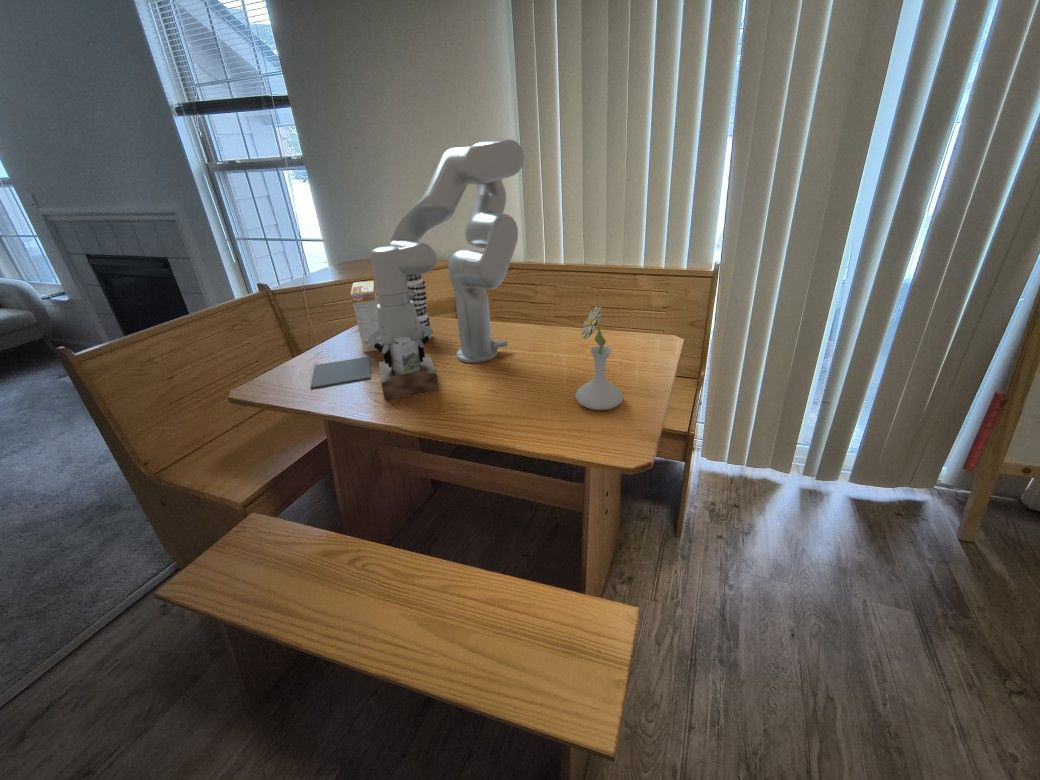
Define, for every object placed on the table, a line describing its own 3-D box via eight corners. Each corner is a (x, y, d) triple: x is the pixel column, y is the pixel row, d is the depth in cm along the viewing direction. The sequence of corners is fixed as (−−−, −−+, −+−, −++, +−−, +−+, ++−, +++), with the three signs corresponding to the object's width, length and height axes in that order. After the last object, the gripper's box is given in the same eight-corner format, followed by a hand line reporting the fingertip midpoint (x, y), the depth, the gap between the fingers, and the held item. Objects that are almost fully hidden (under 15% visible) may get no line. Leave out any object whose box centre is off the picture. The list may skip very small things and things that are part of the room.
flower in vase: (581, 389, 116) (583, 293, 104) (626, 395, 112) (633, 296, 101) (567, 413, 105) (568, 310, 94) (616, 421, 101) (623, 314, 90)
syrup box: (411, 377, 127) (402, 329, 120) (424, 382, 124) (416, 333, 117) (394, 385, 123) (384, 335, 116) (408, 390, 120) (398, 340, 113)
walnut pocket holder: (431, 369, 131) (429, 354, 129) (439, 390, 119) (436, 373, 117) (382, 378, 127) (378, 362, 125) (384, 400, 116) (381, 382, 113)
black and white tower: (434, 341, 152) (423, 266, 140) (406, 344, 150) (392, 269, 139) (432, 332, 160) (421, 260, 148) (405, 335, 158) (393, 263, 146)
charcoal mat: (369, 358, 141) (369, 356, 141) (371, 378, 128) (370, 376, 127) (315, 366, 137) (314, 365, 137) (310, 389, 123) (310, 387, 123)
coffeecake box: (364, 337, 158) (352, 282, 149) (385, 334, 160) (374, 280, 151) (362, 352, 146) (349, 293, 137) (385, 349, 147) (373, 290, 138)
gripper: (427, 290, 118) (435, 352, 126) (357, 299, 113) (371, 363, 121) (431, 297, 111) (440, 362, 119) (358, 307, 107) (372, 374, 115)
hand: (405, 362), depth 120 cm, fingers closed on syrup box, 7 cm apart
